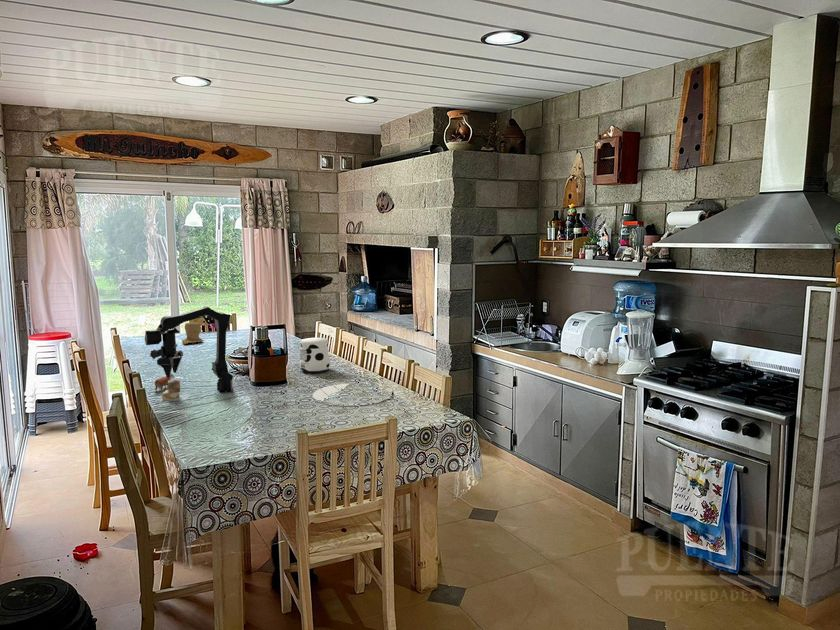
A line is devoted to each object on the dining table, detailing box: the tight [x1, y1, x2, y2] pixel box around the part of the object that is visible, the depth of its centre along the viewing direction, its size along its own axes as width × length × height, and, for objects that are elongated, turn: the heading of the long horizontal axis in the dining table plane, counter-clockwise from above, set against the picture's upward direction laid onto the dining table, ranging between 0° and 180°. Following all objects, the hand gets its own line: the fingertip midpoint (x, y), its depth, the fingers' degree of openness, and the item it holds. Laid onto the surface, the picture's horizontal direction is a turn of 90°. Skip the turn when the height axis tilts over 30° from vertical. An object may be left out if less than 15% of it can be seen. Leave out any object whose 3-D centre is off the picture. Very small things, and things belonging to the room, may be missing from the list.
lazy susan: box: [312, 381, 392, 402], centre depth 298 cm, size 40×39×3 cm
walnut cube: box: [167, 379, 181, 393], centre depth 290 cm, size 5×5×5 cm
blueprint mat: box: [158, 394, 191, 402], centre depth 291 cm, size 12×10×1 cm
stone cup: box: [181, 322, 205, 345], centre depth 432 cm, size 15×12×15 cm
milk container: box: [299, 337, 331, 373], centre depth 347 cm, size 17×17×18 cm
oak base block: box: [161, 389, 181, 400], centre depth 290 cm, size 6×6×3 cm
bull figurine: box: [154, 372, 176, 392], centre depth 306 cm, size 4×13×8 cm, turn 164°
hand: (171, 375), depth 290 cm, fingers open, 9 cm apart
